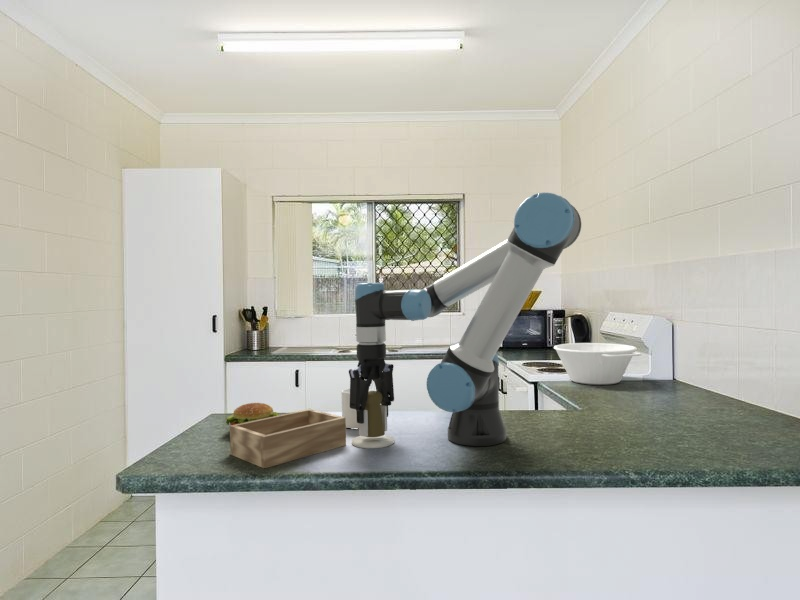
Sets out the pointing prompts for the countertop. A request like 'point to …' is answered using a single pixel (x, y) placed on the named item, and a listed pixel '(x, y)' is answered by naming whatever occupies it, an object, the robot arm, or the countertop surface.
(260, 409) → the food
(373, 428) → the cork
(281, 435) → the access box
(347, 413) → the mug
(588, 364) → the pot
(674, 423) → the countertop surface
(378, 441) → the coaster
